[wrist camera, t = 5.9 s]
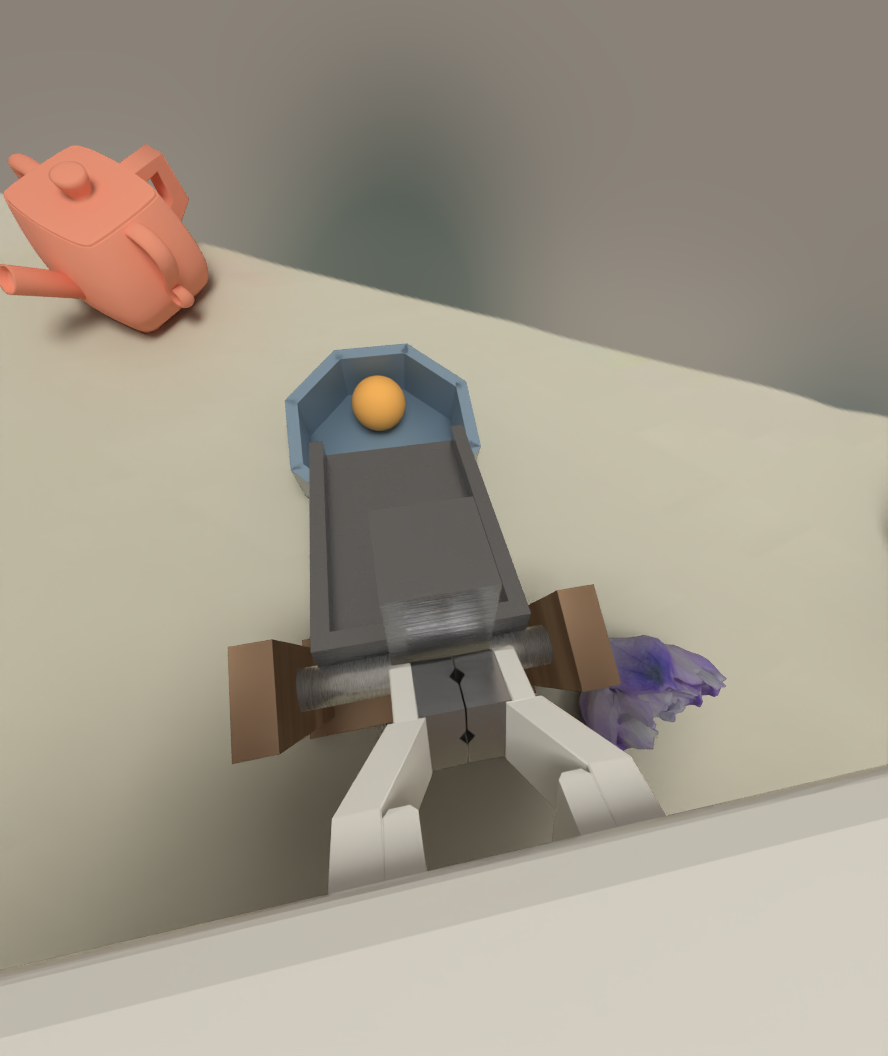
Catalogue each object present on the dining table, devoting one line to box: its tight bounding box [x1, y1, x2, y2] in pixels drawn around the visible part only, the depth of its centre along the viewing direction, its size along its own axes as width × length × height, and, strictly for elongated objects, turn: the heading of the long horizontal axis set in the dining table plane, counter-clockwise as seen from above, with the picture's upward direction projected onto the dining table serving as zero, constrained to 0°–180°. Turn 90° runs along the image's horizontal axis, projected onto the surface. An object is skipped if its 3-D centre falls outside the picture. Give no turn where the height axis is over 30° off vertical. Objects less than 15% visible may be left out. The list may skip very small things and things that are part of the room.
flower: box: [579, 635, 726, 751], centre depth 28 cm, size 9×9×10 cm
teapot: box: [0, 144, 208, 333], centre depth 33 cm, size 12×12×10 cm
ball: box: [352, 375, 406, 431], centre depth 33 cm, size 4×4×4 cm
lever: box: [296, 425, 553, 712], centre depth 17 cm, size 10×15×11 cm, turn 10°
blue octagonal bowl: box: [285, 344, 481, 498], centre depth 32 cm, size 13×13×5 cm
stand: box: [228, 584, 621, 764], centre depth 24 cm, size 15×6×14 cm, turn 100°
